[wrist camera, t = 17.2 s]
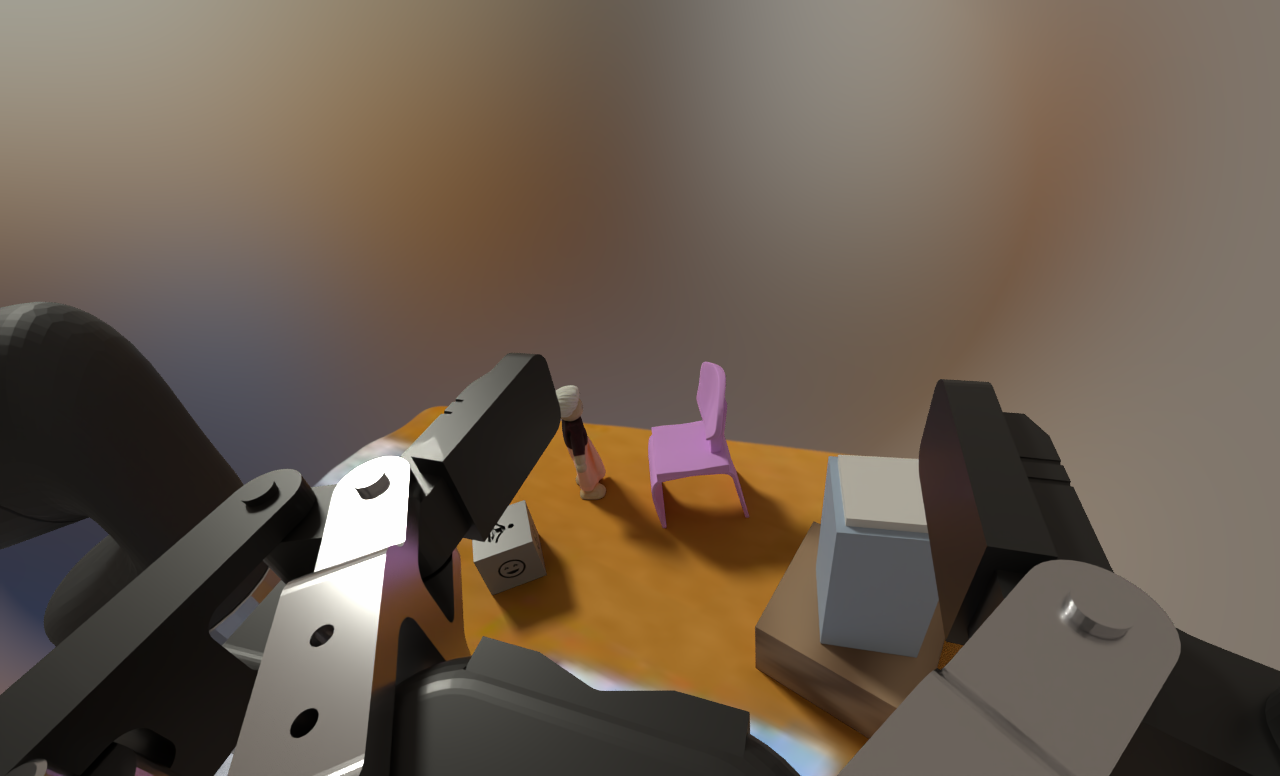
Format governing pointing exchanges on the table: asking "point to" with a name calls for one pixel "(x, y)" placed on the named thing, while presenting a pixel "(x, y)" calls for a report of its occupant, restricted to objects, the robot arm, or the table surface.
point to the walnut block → (835, 653)
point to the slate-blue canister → (874, 557)
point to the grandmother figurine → (580, 444)
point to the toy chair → (694, 442)
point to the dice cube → (510, 551)
